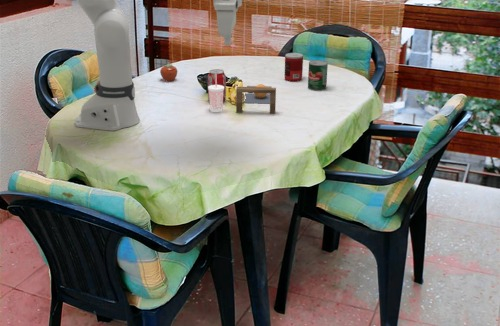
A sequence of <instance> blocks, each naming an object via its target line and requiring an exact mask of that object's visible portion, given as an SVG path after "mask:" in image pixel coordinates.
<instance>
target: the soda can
mask: <svg viewBox="0 0 500 326" xmlns="http://www.w3.org/2000/svg"><path fill="white" fill-rule="evenodd" d="M215 74H217V85H222V86H224V90H223V102H224V101H226V97H227V80H226V79H227V76H226V73H225V71H224V70H223V69H218V68H217V69H216V68H215V69H211V70H209V72H208V74H207V87H208V86H211V85H215ZM207 98H208V101H210V99H209V90H208V89H207Z"/></svg>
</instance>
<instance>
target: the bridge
mask: <svg viewBox="0 0 500 326" xmlns="http://www.w3.org/2000/svg"><path fill="white" fill-rule="evenodd" d="M235 90H236V91H235V94H236V95H235V98H236V99H235V100H236V101H235V103H236V106H235V107H236V108H235V110H236V112H235V113H238V114H242V113H243V103H242V101H243V93H247V92H249V93H248V94H254V93H267V94H270V104H269V114H272V115H276V102H277V101H276V99H277V98H276V97H277V93H276V92H277V87H272V88H269V87H247V86H236V89H235Z"/></svg>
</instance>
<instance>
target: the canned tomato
mask: <svg viewBox="0 0 500 326" xmlns="http://www.w3.org/2000/svg"><path fill="white" fill-rule="evenodd" d="M328 67H329V64H328V62H327V61H325V60H320V59H317V60H316V59H315V60H310V61H308V77H307V78H308V79H307V89H308V90H309V91H315V92H321V91H325V90H327V85H328V84H327V82H328Z"/></svg>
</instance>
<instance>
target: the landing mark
mask: <svg viewBox="0 0 500 326" xmlns="http://www.w3.org/2000/svg"><path fill="white" fill-rule="evenodd" d="M244 93H245V96H246V99H245V101H244V103H243V104H254V103H258V104H259V105H260V104H262V105H270V93H267V95H266V96H265V97H264V98H258V97H256V96H255V94H254V93H247V92H244Z"/></svg>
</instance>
